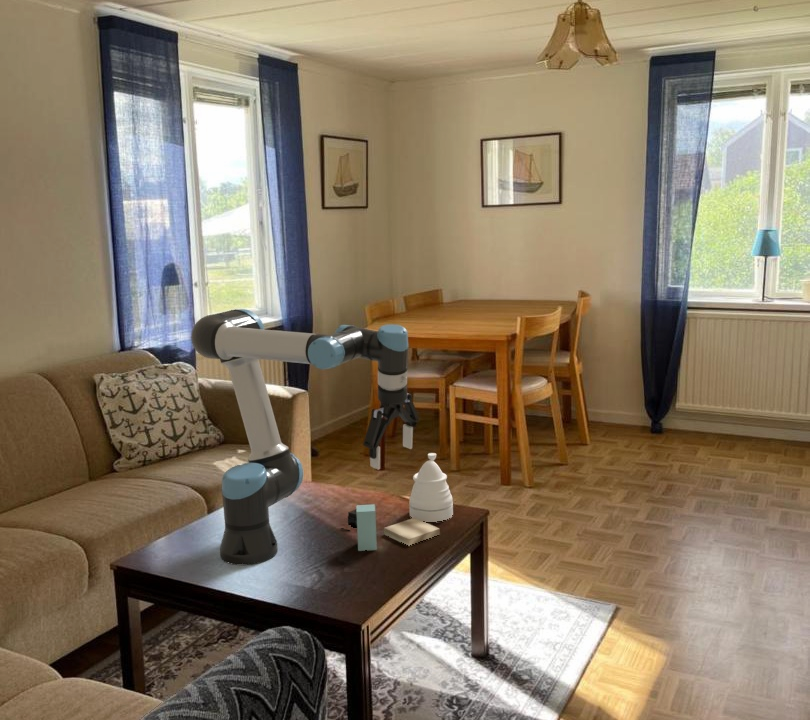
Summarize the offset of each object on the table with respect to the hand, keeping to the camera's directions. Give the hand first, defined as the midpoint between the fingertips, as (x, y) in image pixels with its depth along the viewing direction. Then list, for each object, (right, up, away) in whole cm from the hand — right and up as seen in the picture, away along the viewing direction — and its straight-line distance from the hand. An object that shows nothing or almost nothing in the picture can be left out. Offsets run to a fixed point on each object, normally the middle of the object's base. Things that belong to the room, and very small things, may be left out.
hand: (391, 457), depth 222 cm
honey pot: (+11, -20, +27) cm, 36 cm away
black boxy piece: (-10, -23, +21) cm, 32 cm away
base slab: (+5, -24, +12) cm, 27 cm away
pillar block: (-7, -25, +5) cm, 26 cm away
